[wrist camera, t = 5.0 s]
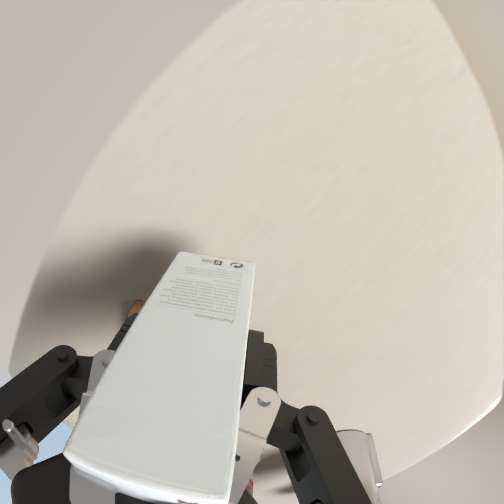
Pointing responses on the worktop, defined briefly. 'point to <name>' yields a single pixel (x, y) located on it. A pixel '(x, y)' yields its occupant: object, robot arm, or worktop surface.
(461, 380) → the worktop surface
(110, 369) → the skincare box
